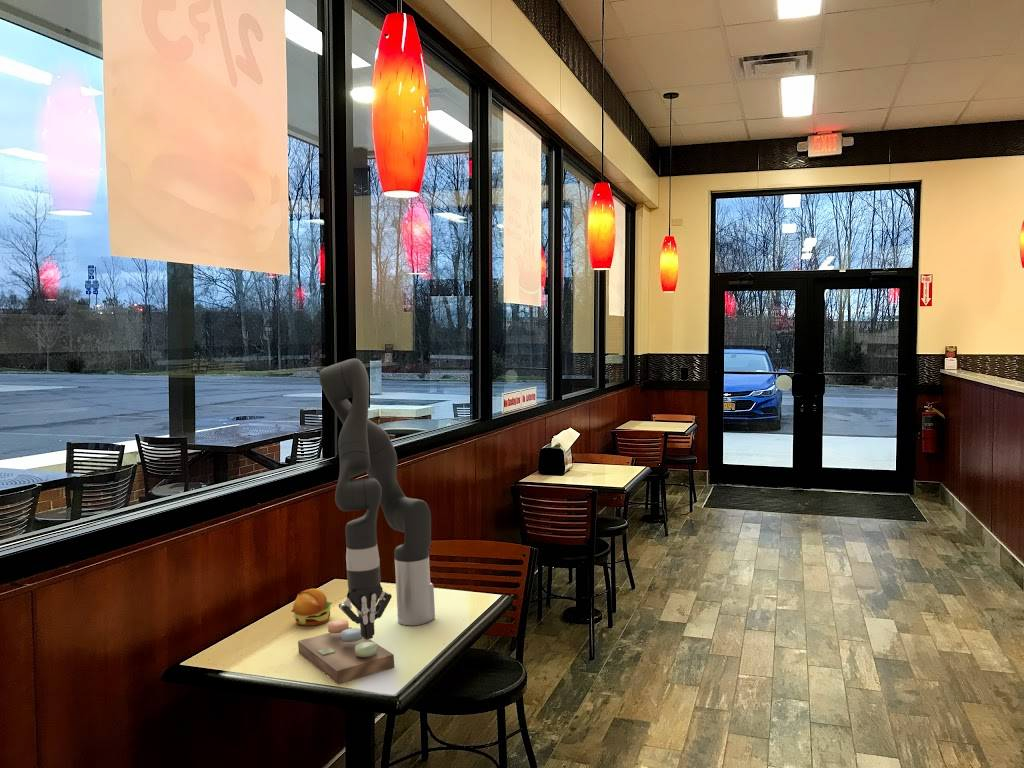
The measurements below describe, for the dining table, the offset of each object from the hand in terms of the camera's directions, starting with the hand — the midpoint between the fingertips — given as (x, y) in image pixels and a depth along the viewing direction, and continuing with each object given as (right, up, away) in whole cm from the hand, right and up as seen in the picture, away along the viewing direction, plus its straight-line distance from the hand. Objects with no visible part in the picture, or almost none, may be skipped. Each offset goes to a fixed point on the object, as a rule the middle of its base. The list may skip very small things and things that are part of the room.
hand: (367, 638), depth 187 cm
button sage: (0, -3, 0) cm, 3 cm away
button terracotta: (-10, -2, +13) cm, 16 cm away
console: (-6, -7, +6) cm, 11 cm away
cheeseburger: (-21, -6, +34) cm, 40 cm away
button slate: (-5, -2, +7) cm, 9 cm away
